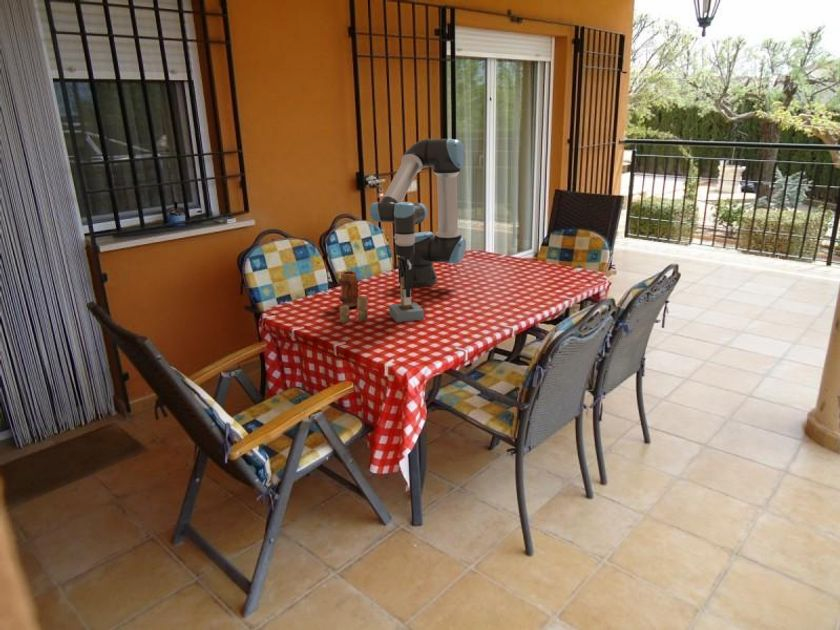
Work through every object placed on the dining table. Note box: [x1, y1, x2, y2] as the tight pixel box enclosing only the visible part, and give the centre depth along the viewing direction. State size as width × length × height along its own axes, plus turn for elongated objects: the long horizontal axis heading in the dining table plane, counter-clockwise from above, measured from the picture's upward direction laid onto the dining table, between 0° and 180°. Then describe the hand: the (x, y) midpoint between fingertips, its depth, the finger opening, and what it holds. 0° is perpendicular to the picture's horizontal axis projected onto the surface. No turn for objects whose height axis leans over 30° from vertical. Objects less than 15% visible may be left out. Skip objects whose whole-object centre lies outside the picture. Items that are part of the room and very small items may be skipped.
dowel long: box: [400, 277, 411, 310], centre depth 243 cm, size 4×4×14 cm
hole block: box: [388, 301, 425, 323], centre depth 245 cm, size 11×11×4 cm
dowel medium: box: [357, 295, 368, 322], centre depth 241 cm, size 4×4×9 cm
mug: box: [338, 270, 360, 308], centre depth 254 cm, size 15×8×15 cm, turn 21°
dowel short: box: [339, 304, 351, 324], centre depth 240 cm, size 4×4×6 cm
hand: (405, 303), depth 244 cm, fingers closed on dowel long, 3 cm apart
